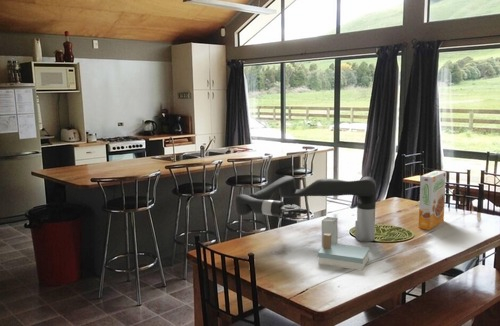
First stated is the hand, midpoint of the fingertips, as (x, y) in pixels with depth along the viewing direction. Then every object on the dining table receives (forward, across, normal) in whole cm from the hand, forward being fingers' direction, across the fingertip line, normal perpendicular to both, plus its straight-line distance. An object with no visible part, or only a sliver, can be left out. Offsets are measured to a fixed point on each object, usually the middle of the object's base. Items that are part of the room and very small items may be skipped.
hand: (306, 211), depth 214 cm
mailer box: (+18, 0, +22) cm, 28 cm away
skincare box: (+7, +16, +22) cm, 28 cm away
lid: (+18, 0, +19) cm, 26 cm away
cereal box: (+50, +77, +22) cm, 95 cm away
